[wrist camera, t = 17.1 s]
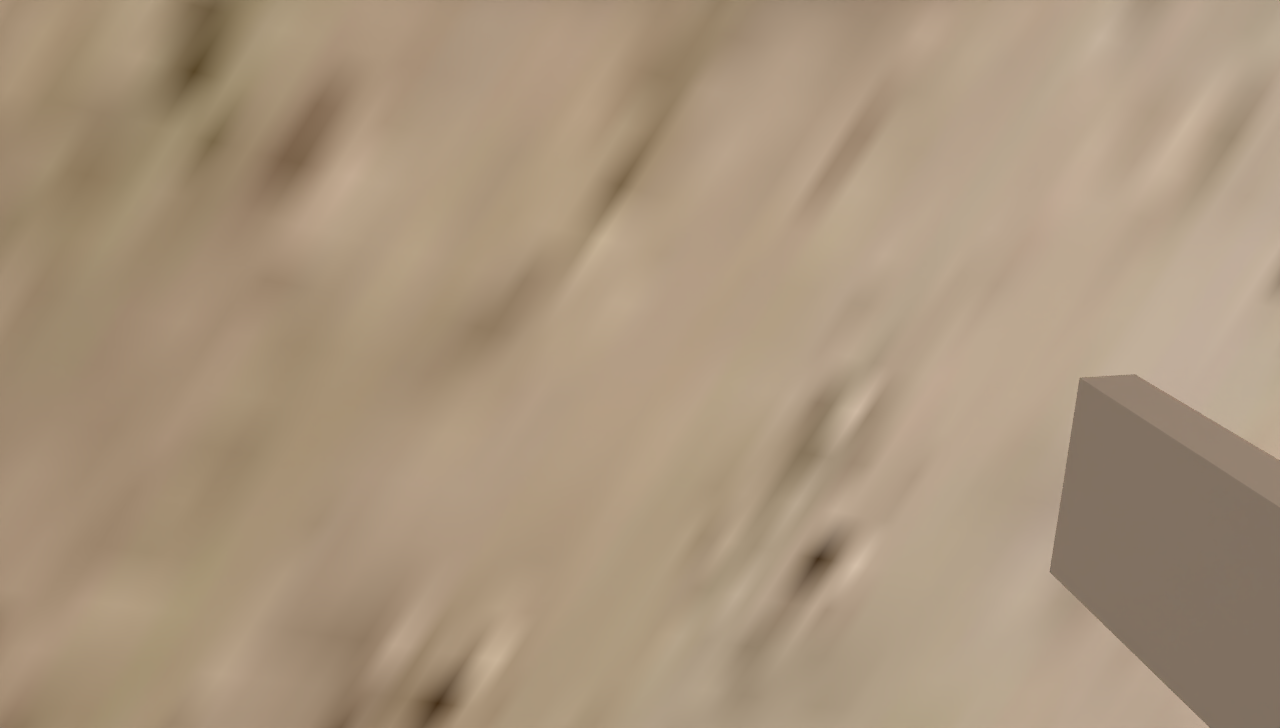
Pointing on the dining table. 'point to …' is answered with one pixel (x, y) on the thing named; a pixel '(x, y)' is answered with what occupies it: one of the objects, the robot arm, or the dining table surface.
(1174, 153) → the dining table surface
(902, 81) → the dining table surface
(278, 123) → the dining table surface
